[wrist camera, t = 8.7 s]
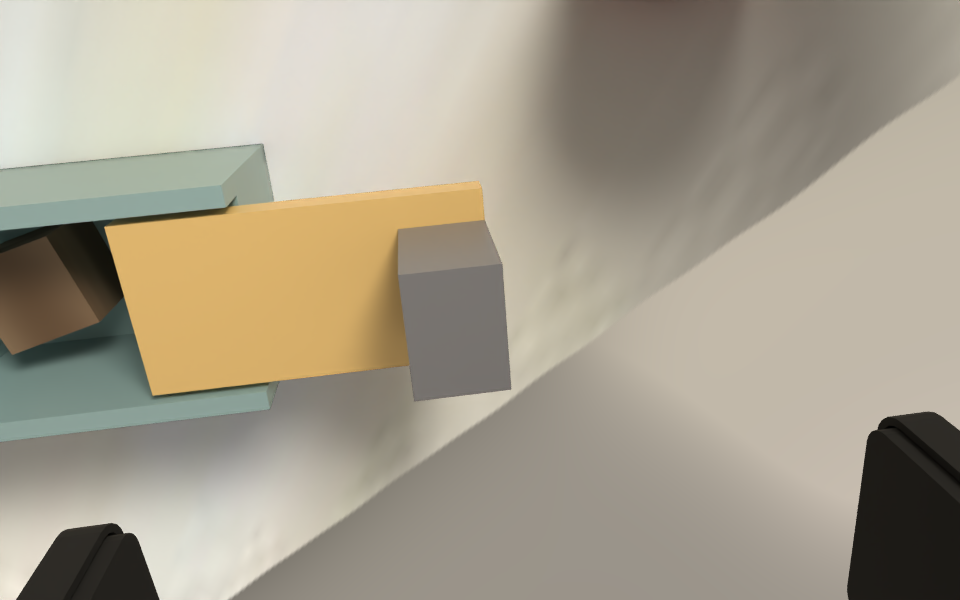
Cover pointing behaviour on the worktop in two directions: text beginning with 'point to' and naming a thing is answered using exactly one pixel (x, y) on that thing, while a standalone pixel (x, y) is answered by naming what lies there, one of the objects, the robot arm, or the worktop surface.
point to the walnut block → (54, 284)
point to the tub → (112, 342)
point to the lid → (319, 291)
